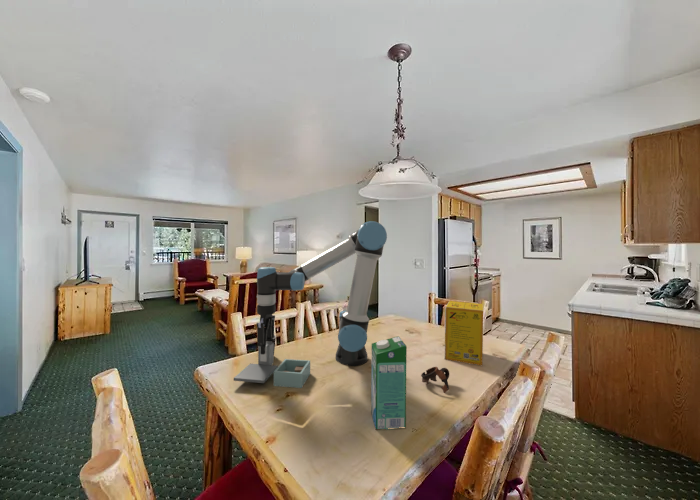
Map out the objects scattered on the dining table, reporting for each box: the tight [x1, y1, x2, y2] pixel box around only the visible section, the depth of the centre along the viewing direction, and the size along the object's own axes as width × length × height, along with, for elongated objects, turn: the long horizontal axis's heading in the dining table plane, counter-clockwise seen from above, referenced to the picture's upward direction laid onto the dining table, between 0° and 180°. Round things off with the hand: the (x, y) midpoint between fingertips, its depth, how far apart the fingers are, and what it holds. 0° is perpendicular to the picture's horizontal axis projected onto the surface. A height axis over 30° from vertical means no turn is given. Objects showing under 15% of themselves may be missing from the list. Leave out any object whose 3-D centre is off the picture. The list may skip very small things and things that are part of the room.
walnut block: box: [295, 366, 304, 373], centre depth 116 cm, size 4×4×4 cm
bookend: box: [233, 342, 279, 384], centre depth 114 cm, size 12×17×9 cm
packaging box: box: [444, 300, 484, 366], centre depth 139 cm, size 16×16×25 cm
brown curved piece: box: [420, 366, 450, 394], centre depth 111 cm, size 12×10×8 cm
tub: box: [273, 358, 311, 389], centre depth 113 cm, size 11×12×6 cm
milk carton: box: [370, 335, 408, 430], centre depth 88 cm, size 9×9×25 cm
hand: (266, 358), depth 121 cm, fingers closed on bookend, 4 cm apart
